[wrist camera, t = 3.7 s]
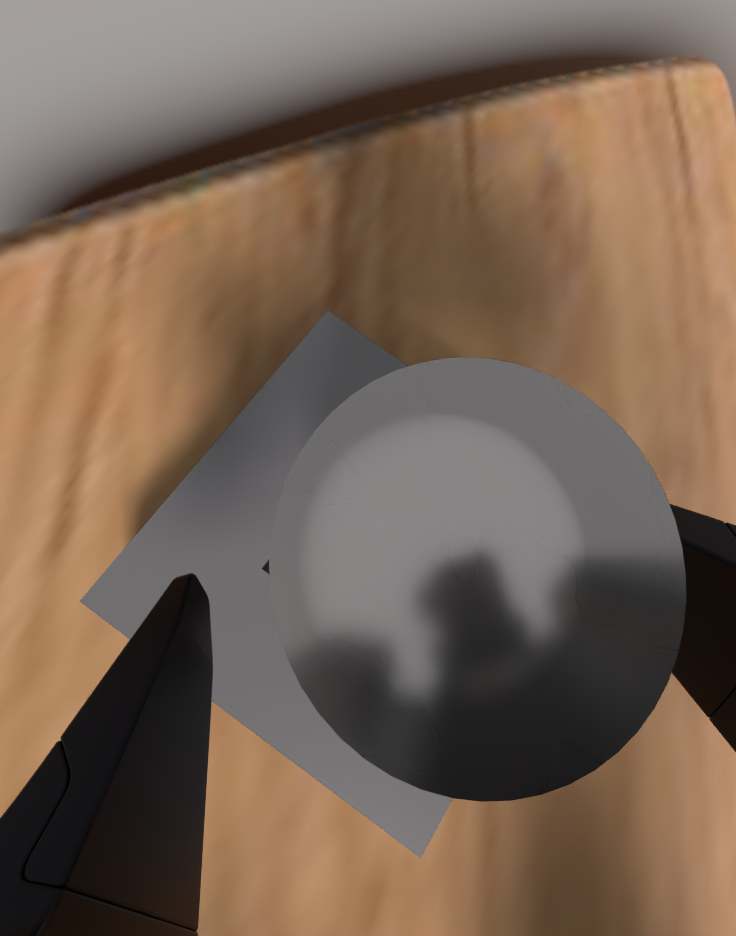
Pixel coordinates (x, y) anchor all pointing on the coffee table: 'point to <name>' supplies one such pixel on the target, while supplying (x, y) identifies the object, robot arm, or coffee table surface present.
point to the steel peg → (477, 579)
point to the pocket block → (264, 572)
